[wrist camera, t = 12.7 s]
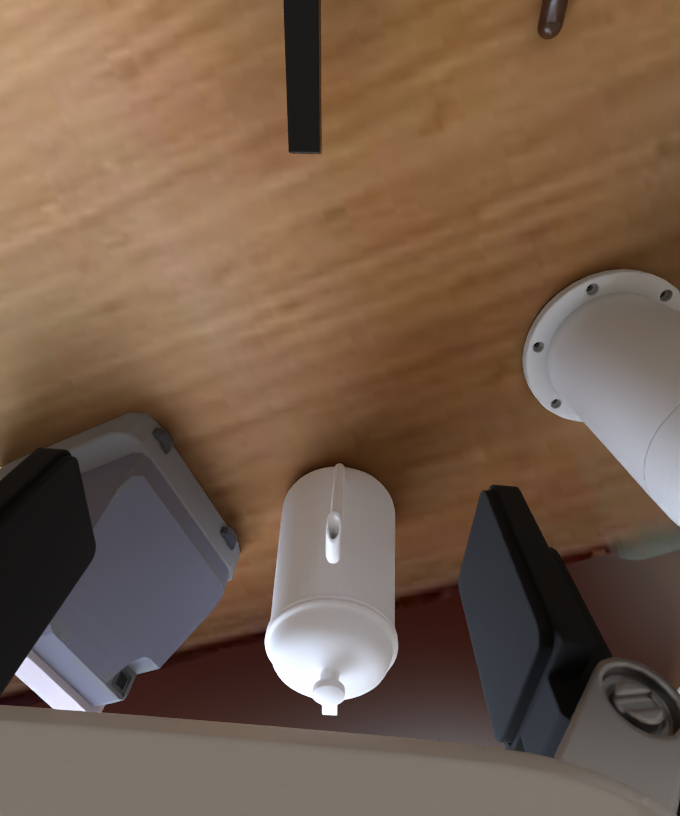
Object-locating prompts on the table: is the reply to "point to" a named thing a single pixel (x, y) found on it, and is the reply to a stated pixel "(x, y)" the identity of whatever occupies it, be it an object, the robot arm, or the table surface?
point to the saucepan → (303, 75)
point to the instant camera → (131, 567)
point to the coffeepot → (334, 587)
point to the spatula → (551, 18)
